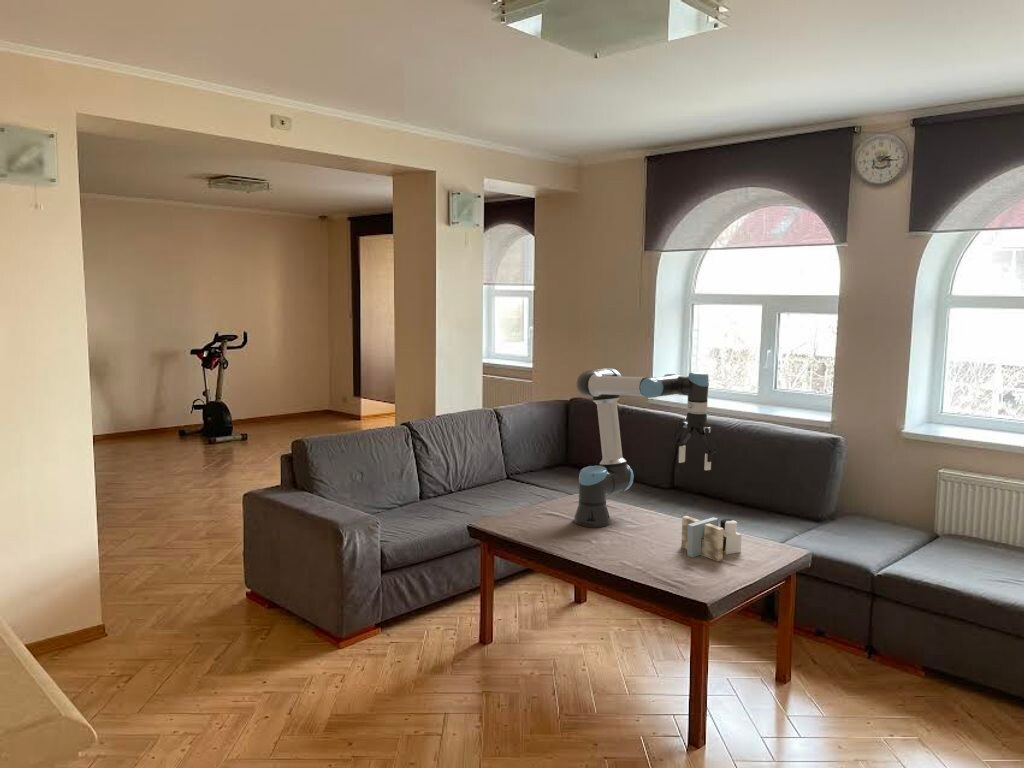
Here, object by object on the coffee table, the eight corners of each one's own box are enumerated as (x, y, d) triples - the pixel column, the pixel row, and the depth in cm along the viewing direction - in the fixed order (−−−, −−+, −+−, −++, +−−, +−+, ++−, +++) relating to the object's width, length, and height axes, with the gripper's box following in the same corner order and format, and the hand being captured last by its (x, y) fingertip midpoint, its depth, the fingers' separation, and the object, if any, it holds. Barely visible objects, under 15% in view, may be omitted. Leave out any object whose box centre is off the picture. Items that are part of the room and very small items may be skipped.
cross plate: (692, 557, 274) (692, 526, 272) (687, 555, 276) (687, 524, 274) (718, 549, 282) (718, 518, 280) (713, 547, 284) (713, 517, 282)
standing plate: (681, 546, 285) (682, 516, 284) (685, 545, 287) (686, 515, 285) (717, 561, 270) (719, 529, 269) (722, 560, 272) (723, 528, 270)
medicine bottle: (713, 548, 284) (715, 518, 282) (729, 546, 286) (731, 516, 285) (725, 554, 277) (726, 523, 276) (741, 552, 279) (742, 521, 278)
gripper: (666, 408, 293) (664, 460, 296) (714, 418, 272) (711, 474, 275) (680, 406, 297) (678, 458, 300) (728, 416, 276) (725, 472, 279)
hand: (694, 466), depth 288 cm, fingers open, 13 cm apart
